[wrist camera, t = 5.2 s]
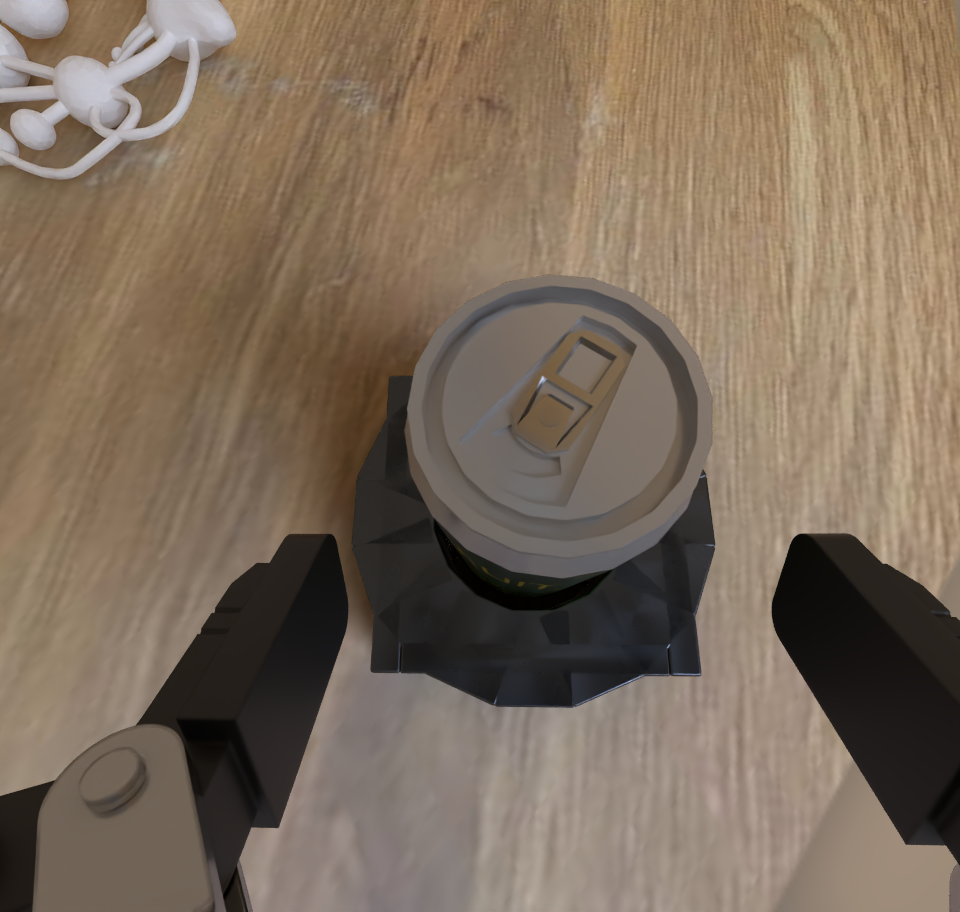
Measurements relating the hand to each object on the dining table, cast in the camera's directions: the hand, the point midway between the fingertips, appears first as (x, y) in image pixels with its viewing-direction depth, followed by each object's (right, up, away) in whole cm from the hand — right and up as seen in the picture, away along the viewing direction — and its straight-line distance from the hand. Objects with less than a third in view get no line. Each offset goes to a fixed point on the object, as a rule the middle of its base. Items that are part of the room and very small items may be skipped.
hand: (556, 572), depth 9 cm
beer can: (0, -1, +11) cm, 11 cm away
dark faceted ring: (0, -1, +11) cm, 11 cm away
